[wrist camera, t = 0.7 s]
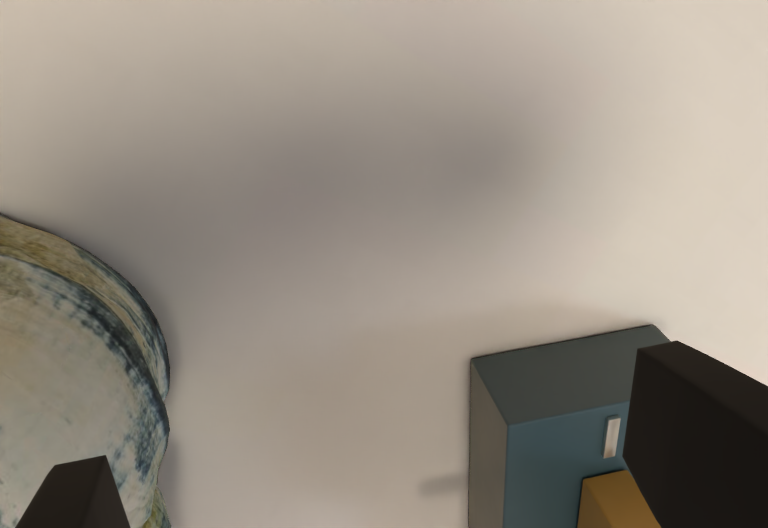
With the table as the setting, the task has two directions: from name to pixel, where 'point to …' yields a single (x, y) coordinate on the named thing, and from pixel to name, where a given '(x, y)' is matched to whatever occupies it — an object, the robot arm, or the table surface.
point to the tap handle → (614, 503)
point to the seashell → (77, 374)
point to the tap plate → (548, 426)
